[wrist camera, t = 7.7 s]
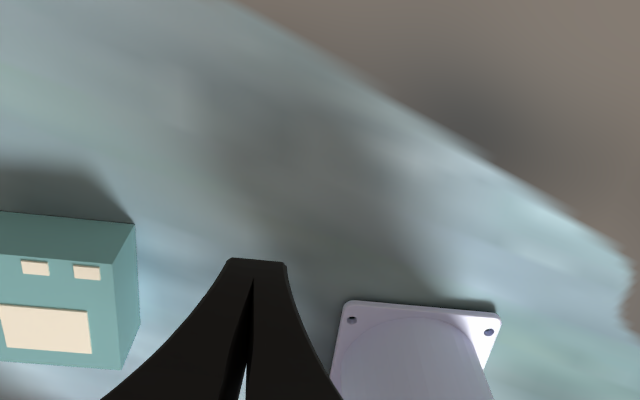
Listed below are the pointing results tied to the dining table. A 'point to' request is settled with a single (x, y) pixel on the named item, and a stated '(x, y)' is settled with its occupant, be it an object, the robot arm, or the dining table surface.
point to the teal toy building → (67, 291)
